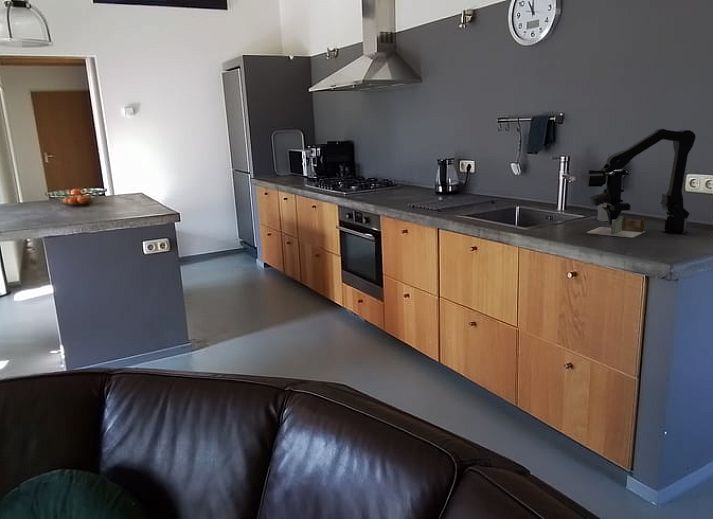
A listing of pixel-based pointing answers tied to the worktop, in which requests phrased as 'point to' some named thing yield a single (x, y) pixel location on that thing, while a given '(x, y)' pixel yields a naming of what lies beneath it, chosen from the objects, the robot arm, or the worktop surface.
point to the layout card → (621, 233)
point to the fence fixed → (633, 225)
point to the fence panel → (616, 225)
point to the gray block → (602, 213)
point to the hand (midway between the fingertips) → (611, 224)
